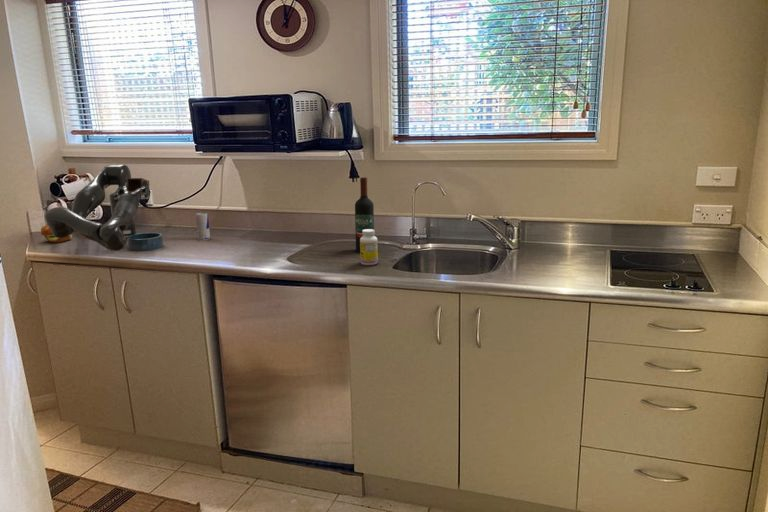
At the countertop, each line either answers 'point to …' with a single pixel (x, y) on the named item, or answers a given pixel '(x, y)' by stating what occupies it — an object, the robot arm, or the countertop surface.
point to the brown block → (135, 183)
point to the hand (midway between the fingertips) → (137, 182)
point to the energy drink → (202, 226)
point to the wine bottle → (363, 213)
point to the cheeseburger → (50, 236)
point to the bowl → (145, 241)
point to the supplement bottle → (368, 248)
